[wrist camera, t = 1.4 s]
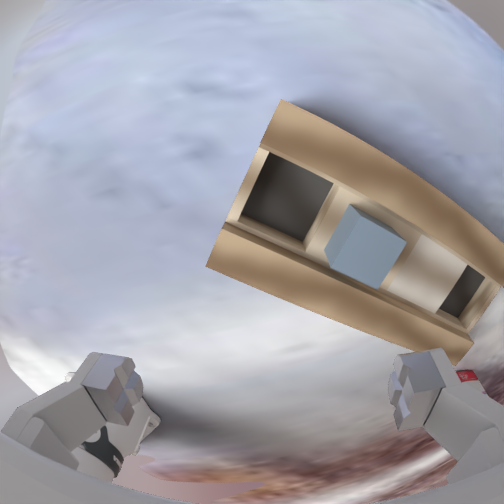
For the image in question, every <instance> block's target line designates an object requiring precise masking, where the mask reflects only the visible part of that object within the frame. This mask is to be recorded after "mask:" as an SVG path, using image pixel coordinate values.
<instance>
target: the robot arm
mask: <svg viewBox="0 0 504 504" xmlns="http://www.w3.org/2000/svg"><path fill="white" fill-rule="evenodd" d="M393 366H394V369H395V371H394V372H393V373H392V374H391V375H390V378H389V382H388V394H389V399H390V403H391V404H392V405H393V406H395V407H396V409H395V412H394V418H395V422H396V426H397V429H398V431H402V430H408V429H414V428H419V427H423V429H425V430H426V431H427V432H428V433H429V434H430V435H431V436H432V437H433V438H434V439H435V440H436V441H437V442H438V443H439V444H440V445H441V446H442V447H443V448H444V449H445V450H446V451H448V452H449V453H450V454H451V455H452V456H453V457H454V458H455V459H456V460H457V461H458V462H457V464H456V465H455V466H454V467H453V468H452V469H451V471H450V472H449V473H448V474H447V476H446V477H447V481H448V484H447V485H444V486H441V487H438V488H435V489H431V490H428V491H424V492H420V493H417V494H413V495H408V496H404V497H400V498H395V499H390V500H385V501H380V502H374V503H368V504H504V406H503V405H501V404H499V403H498V402H496V401H494V400H493V399H491V398H490V397H488V396H486V395H485V394H483V393H482V392H480V391H478V390H477V389H475V388H473V387H472V386H470V385H469V384H467V383H461V381H460V379H459V377H458V375H457V373H456V371H455V370H454V368H453V366H452V364H451V362H450V360H449V358H448V357H447V355H446V353H445V351H444V350H443V349H442V348H436V349H431V350H427V351H420V352H413V353H407V354H400V355H397V356H396V357H395V359H394V363H393ZM134 369H135V364H134V362H133V360H132V359H131V358H129V357H123V356H116V355H110V354H102V353H96V352H92V353H90V354H89V355H88V356H87V358H86V359H85V360H84V362H83V363H82V365H81V366H80V367H79V369H78V370H77V371H76V373H67V375H66V377H65V380H66V382H64V383H62V384H60V385H59V386H57V387H55V388H53V389H51V390H49V391H47V392H46V393H44V394H42V395H40V396H38V397H36V398H35V399H33V400H31V401H29V402H27V403H25V404H23V405H21V406H19V407H17V409H16V410H15V412H14V413H13V414H12V416H11V417H10V418H9V420H8V421H7V423H6V424H5V426H4V427H3V429H2V430H1V431H0V504H197V503H191V502H185V501H179V500H175V499H170V498H165V497H161V496H156V495H152V494H148V493H144V492H140V491H136V490H133V489H129V488H125V487H123V486H119V485H116V484H113V483H112V481H113V478H115V477H117V475H118V473H119V472H120V470H121V468H122V463H123V461H124V458H125V457H126V456H128V455H131V454H132V455H135V456H136V455H137V454H138V452H139V450H140V446H139V444H140V442H141V441H142V440H143V439H144V438H145V437H146V436H147V435H149V434H150V433H151V432H152V431H153V430H154V429H155V428H156V427H157V426H158V425H159V424H160V422H161V419H160V418H159V417H158V416H157V415H156V414H155V413H154V412H153V411H151V410H150V408H149V407H148V405H147V404H146V402H145V401H144V399H143V398H142V393H143V383H142V380H141V377H140V375H138V374H137V373H136V372H135V371H134Z"/></svg>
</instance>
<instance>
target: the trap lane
mask: <svg viewBox="0 0 504 504" xmlns="http://www.w3.org/2000/svg"><path fill="white" fill-rule="evenodd" d="M260 143H261V144H260V146H259V148H258V150H257V152H256V154H255V156H254V159H253V161H252V163H251V165H250V167H249V169H248V172H247V174H246V176H245V178H244V180H243V183H242V185H241V187H240V189H239V192H238V194H237V196H236V198H235V200H234V203H233V205H232V207H231V210H230V212H229V214H228V216H227V219H226V221H225V223H224V225H223V227H222V229H221V231H220V233H219V236H218V238H217V240H216V243H215V245H214V247H213V250H212V252H211V255H210V257H209V259H208V262H207V264H206V267H208V268H210V269H213V270H215V271H217V272H220V273H222V274H224V275H226V276H229V277H231V278H233V279H236V280H238V281H240V282H243V283H245V284H247V285H250V286H252V287H254V288H257V289H259V290H262V291H264V292H266V293H269V294H271V295H274V296H276V297H278V298H281V299H283V300H286V301H288V302H290V303H293V304H295V305H298V306H300V307H303V308H305V309H307V310H310V311H312V312H315V313H317V314H320V315H322V316H325V317H327V318H330V319H332V320H335V321H337V322H340V323H342V324H345V325H348V326H350V327H353V328H355V329H358V330H360V331H363V332H365V333H368V334H371V335H373V336H376V337H378V338H381V339H384V340H386V341H389V342H392V343H394V344H397V345H400V346H402V347H405V348H408V349H410V350H413V351H416V352H420V351H427V350H431V349H436V348H442V349H443V350H444V351H445V353H446V355H447V357H448V358H449V360H450V362H451V364H452V365H455V366H456V365H457V364H458V362H459V361H460V360H461V359H462V358H463V356H464V355H465V354H466V353H467V352H468V350H469V349H470V348H471V347H472V345H473V344H474V342H473V341H472V339H471V338H470V336H469V335H468V333H469V332H470V331H471V330H472V328H473V327H474V325H475V324H476V323H477V321H478V320H479V319H480V317H481V316H482V314H483V313H484V312H485V310H486V309H487V307H488V306H489V304H490V303H491V301H492V300H493V298H494V297H495V295H496V294H497V292H498V291H499V289H500V288H501V286H503V287H504V244H503V243H502V242H501V241H500V240H499V239H498V238H497V237H496V236H495V235H494V234H492V233H491V232H490V231H489V230H488V229H487V228H486V227H484V226H483V225H482V224H481V223H480V222H478V221H477V220H476V219H475V218H474V217H472V216H471V215H470V214H469V213H468V212H466V211H465V210H464V209H463V208H461V207H460V206H459V205H458V204H456V203H455V202H454V201H452V200H451V199H450V198H448V197H447V196H446V195H444V194H443V193H442V192H440V191H439V190H438V189H436V188H435V187H434V186H432V185H431V184H429V183H428V182H427V181H425V180H424V179H422V178H421V177H419V176H418V175H416V174H415V173H414V172H412V171H411V170H409V169H408V168H406V167H405V166H403V165H401V164H400V163H398V162H397V161H395V160H394V159H392V158H391V157H389V156H387V155H386V154H384V153H383V152H381V151H379V150H378V149H376V148H374V147H373V146H371V145H369V144H368V143H366V142H364V141H362V140H361V139H359V138H357V137H355V136H354V135H352V134H350V133H348V132H346V131H345V130H343V129H341V128H339V127H337V126H335V125H333V124H332V123H330V122H328V121H326V120H324V119H322V118H320V117H318V116H316V115H314V114H312V113H310V112H308V111H306V110H304V109H302V108H300V107H297V106H295V105H293V104H291V103H289V102H287V101H284V100H282V99H281V100H280V102H279V104H278V107H277V109H276V111H275V113H274V115H273V117H272V119H271V121H270V123H269V125H268V127H267V130H266V132H265V134H264V136H263V138H262V140H261V142H260ZM349 204H351V205H353V206H354V207H356V208H358V209H360V210H362V211H364V212H365V213H367V214H369V215H371V216H373V217H374V218H376V219H378V220H380V221H382V222H383V223H385V224H387V225H389V226H390V227H392V228H393V229H394V230H395V231H396V232H397V233H398V234H399V235H400V236H401V237H402V238H404V239H405V240H406V241H407V243H406V245H405V247H404V248H403V250H402V252H401V253H400V255H399V257H398V258H397V260H396V261H395V263H394V265H393V266H392V268H391V269H390V271H389V272H388V274H387V276H386V277H385V279H384V280H383V282H382V283H381V285H380V286H379V288H378V289H375V288H373V287H371V286H369V285H367V284H364V283H362V282H360V281H358V280H356V279H354V278H352V277H349V276H347V275H345V274H343V273H341V272H339V271H336V270H334V269H332V268H331V267H330V265H329V262H328V259H327V257H326V254H325V251H324V248H325V247H326V245H327V243H328V241H329V240H330V238H331V236H332V234H333V233H334V231H335V229H336V227H337V225H338V224H339V222H340V220H341V218H342V216H343V214H344V213H345V211H346V209H347V207H348V205H349Z"/></svg>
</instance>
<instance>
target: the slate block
mask: <svg viewBox="0 0 504 504" xmlns="http://www.w3.org/2000/svg"><path fill="white" fill-rule="evenodd" d="M406 243H407V241H406V240H405V239H404V238H402V237H401V236H400V235H399V234H398V233H397V232H396V231H395V230H394V229H393V228H392V227H390V226H389V225H387V224H385V223H383V222H382V221H380V220H378V219H376V218H374V217H373V216H371V215H369V214H367V213H365V212H364V211H362V210H360V209H358V208H356V207H354V206H353V205H351V204H349V205H348V207H347V209H346V211H345V213H344V214H343V216H342V218H341V220H340V222H339V224H338V225H337V227H336V229H335V231H334V233H333V234H332V236H331V238H330V240H329V241H328V243H327V245H326V247H325V248H324V251H325V254H326V257H327V259H328V262H329V265H330V267H331V268H332V269H334V270H336V271H339V272H341V273H343V274H345V275H347V276H349V277H352V278H354V279H356V280H358V281H360V282H362V283H364V284H367V285H369V286H371V287H373V288H375V289H378V288H379V286H380V285H381V283H382V282H383V280H384V279H385V277H386V276H387V274H388V272H389V271H390V269H391V268H392V266H393V265H394V263H395V261H396V260H397V258H398V257H399V255H400V253H401V252H402V250H403V248H404V247H405V245H406Z"/></svg>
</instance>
